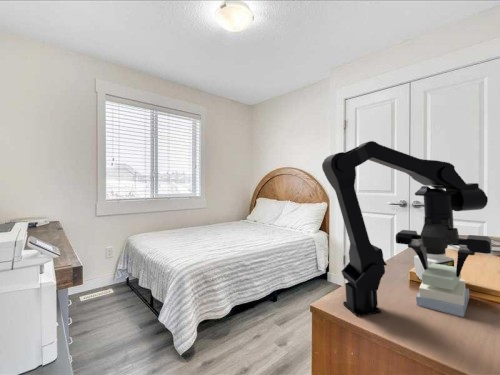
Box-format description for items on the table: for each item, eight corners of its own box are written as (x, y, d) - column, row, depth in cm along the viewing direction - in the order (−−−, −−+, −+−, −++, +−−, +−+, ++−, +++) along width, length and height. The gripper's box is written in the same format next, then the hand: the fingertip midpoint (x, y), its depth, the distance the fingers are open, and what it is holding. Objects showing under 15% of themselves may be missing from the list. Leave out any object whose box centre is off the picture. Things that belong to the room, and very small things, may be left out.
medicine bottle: (437, 286, 71) (434, 245, 71) (414, 278, 78) (412, 240, 78) (455, 282, 73) (453, 241, 73) (432, 274, 80) (430, 237, 80)
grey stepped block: (464, 317, 56) (463, 297, 56) (416, 304, 63) (415, 287, 62) (469, 297, 64) (468, 280, 64) (427, 288, 71) (426, 272, 71)
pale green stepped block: (432, 272, 69) (432, 263, 69) (460, 277, 64) (460, 267, 64) (422, 283, 62) (422, 273, 62) (453, 290, 58) (452, 279, 58)
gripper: (387, 215, 64) (390, 275, 64) (487, 219, 51) (491, 295, 51) (400, 210, 72) (403, 263, 72) (490, 212, 58) (493, 278, 59)
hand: (441, 273), depth 63 cm, fingers closed on pale green stepped block, 6 cm apart
